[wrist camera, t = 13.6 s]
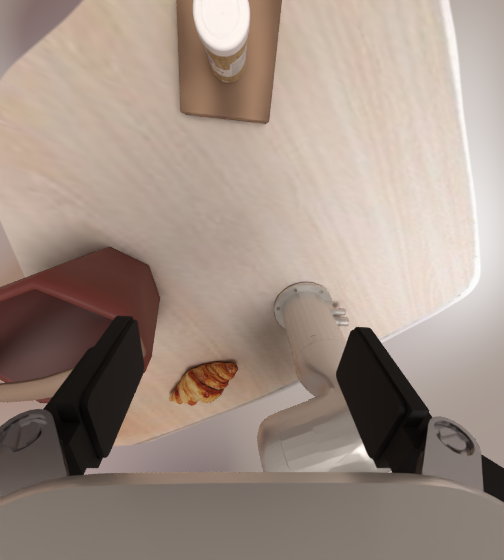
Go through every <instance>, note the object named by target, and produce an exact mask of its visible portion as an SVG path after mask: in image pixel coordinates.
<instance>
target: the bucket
mask: <svg viewBox="0 0 504 560" xmlns="http://www.w3.org/2000/svg"><path fill="white" fill-rule="evenodd" d="M159 301H160V296H159V293H158V290H157V287H156V285H155V282H154V279H153V276H152V273H151V270H150V267H149V265H147V264H145V263H143V262H141V261H139V260H137V259H135V258H133V257H130V256H128V255H126V254H124V253H122V252H120V251H118V250H116V249H114V248H112V247H108V248H105V249H102V250H99V251H97V252H94V253H91V254H88V255H86V256H83V257H80V258H77V259H75V260H72V261H69V262H66V263H64V264H61V265H58V266H56V267H53V268H50V269H47V270H45V271H42V272H39V273H37V274H34V275H31V276H29V277H26V278H23V279H21V280H18V281H15V282H13V283H10V284H7V285H5V286H2V287H0V380H2V381H4V382H5V383H1V384H0V402H18V401H32V400H36V401H38V402H40V403H48V402H49V401H50V400H51V398H52V397H53V396H54V394H55V393H56V392H57V390H58V389H59V388H60V386H61V385H62V383H63V382H64V381H65V379H66V378H67V377H68V375H69V374H70V373H71V371H72V370H73V369H74V367H75V366H76V365H77V363H78V362H79V361H80V359H81V358H82V357H83V355H84V354H85V353H86V351H87V350H88V349H89V348H91V347H94V346H95V345H96V343H97V342H98V340H99V339H100V338H101V336H102V335H103V334H104V332H105V331H106V329H107V328H108V327H109V325H110V324H111V322H112V321H113V320H114V318H115V317H116V316H118V315H119V316H132V317H133V319H134V320H137V321H138V327H139V333H140V340H141V346H142V353H143V359H144V372H145V371H146V369H147V366H148V364H149V362H150V359H151V357H152V350H153V343H154V336H155V329H156V322H157V315H158V308H159Z"/></svg>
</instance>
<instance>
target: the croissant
mask: <svg viewBox="0 0 504 560" xmlns="http://www.w3.org/2000/svg"><path fill="white" fill-rule="evenodd" d="M237 370H238V367H237V365H235V364H233V363H221V362H214V363H211V364H204V365H201V366H199V367H198V368H194V369H192V370H189V371H188V372H187V373H186V374H185V375H184V376H183V377H182V379H181V381H180V383H179V384H178V385H177V386H176V388H175V389H174V390H173V392H172V393H171V395H170V397H169V401H174V402H176V403H178V404H182V403H187V404H189V405H191V406H193V405H195V404H196V403H197V401H200V402H203V403H208V402H210V403H211V402H213V401H214V400H215V399H217V398H218V397H219V396H220V395H221V394H222V392H223V390H224V388H225V387H226V386H227V385H228V382H229V380H231V379H232V378H233V377H234V376H235V373H236V372H237Z"/></svg>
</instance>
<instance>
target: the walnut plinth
mask: <svg viewBox="0 0 504 560" xmlns="http://www.w3.org/2000/svg"><path fill="white" fill-rule="evenodd" d="M248 2H249V7H250V26H249V33H248V36H247V49H246V66H245V70H244V72H243V74H242V76H241V77H240V78H239V79H238V80H237V81H235V82H232V83H225V82H222V81H221V80H219V79H218V78H217V77H216V76H215V75H214V73H213V71H212V69H211V66H210V61H209V58H208V55H207V52H206V49H205V46H204V44H203V43H202V41H201V39H200V37H199V35H198V32H197V29H196V26H195V22H194V17H193V0H177V25H178V53H179V81H180V109H181V112H182V113H184V114H186V115H194V116H203V117H212V118H221V119H229V120H238V121H247V122H256V123H265V124H267V123H268V122H269V117H270V108H271V98H272V89H273V79H274V70H275V60H276V51H277V42H278V32H279V23H280V13H281V4H282V0H248Z"/></svg>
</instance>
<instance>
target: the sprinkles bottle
mask: <svg viewBox="0 0 504 560" xmlns="http://www.w3.org/2000/svg"><path fill="white" fill-rule="evenodd" d="M193 17H194V22H195V26H196V29H197V32H198V35H199V37H200V39H201V41H202V43H203V44H204V46H205V49H206V52H207V55H208V58H209V61H210V66H211V69H212V71H213V73H214V75H215V76H216V77H217V78H218V79H219V80H221V81H222V82H225V83H232V82H235V81H237V80H238V79H239V78H240V77H241V76H242V74H243V72H244V70H245V66H246V49H247V36H248V33H249V26H250V7H249V2H248V0H193Z"/></svg>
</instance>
